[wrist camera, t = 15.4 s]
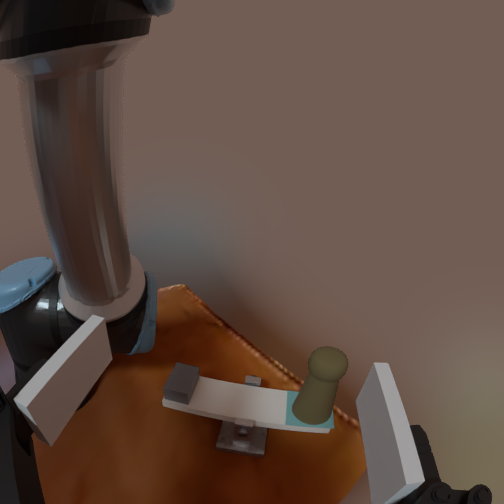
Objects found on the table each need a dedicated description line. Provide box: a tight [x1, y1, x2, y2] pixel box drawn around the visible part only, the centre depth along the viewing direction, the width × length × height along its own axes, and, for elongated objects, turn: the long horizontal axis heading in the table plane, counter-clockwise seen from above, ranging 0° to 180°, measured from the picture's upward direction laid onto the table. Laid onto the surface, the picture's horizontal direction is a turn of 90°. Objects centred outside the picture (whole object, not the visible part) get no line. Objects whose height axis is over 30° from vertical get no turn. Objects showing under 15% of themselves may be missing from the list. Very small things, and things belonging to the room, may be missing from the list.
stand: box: [216, 375, 268, 458], centre depth 40 cm, size 7×12×7 cm, turn 173°
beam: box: [162, 362, 334, 433], centre depth 39 cm, size 24×7×4 cm, turn 83°
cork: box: [292, 346, 348, 425], centre depth 37 cm, size 6×6×11 cm
